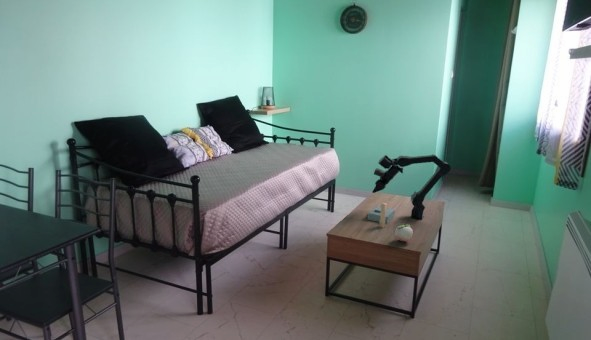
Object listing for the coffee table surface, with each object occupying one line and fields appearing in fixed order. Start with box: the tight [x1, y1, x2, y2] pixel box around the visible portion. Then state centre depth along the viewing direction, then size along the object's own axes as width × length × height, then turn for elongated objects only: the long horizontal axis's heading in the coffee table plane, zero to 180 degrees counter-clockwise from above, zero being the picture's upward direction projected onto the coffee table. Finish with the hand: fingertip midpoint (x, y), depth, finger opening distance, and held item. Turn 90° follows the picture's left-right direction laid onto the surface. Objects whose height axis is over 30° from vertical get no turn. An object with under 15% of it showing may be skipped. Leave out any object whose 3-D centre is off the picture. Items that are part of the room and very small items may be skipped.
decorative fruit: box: [394, 224, 414, 242], centre depth 211 cm, size 9×8×10 cm
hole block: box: [367, 205, 396, 224], centre depth 246 cm, size 12×16×4 cm
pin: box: [378, 202, 388, 229], centre depth 230 cm, size 3×3×14 cm
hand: (374, 190), depth 252 cm, fingers open, 9 cm apart
